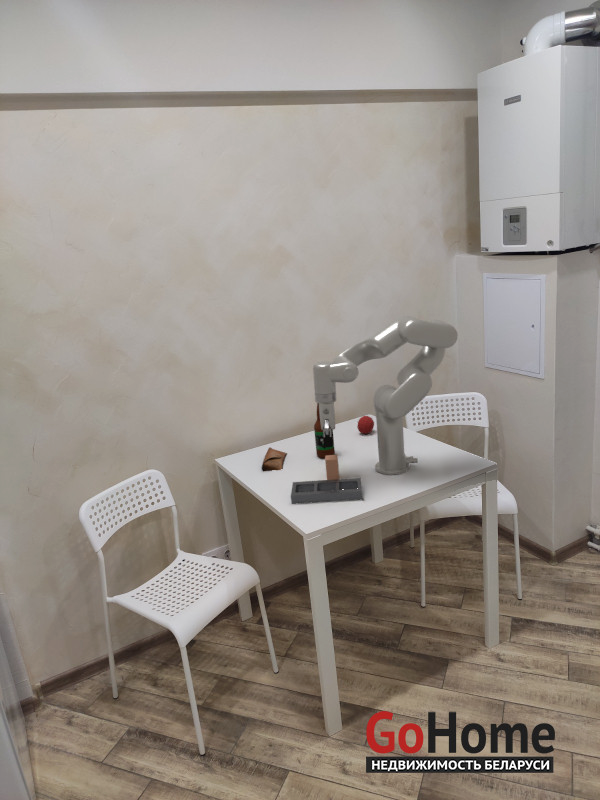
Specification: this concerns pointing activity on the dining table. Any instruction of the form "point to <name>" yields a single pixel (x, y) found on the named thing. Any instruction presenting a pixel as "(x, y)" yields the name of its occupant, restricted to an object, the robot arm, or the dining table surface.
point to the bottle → (321, 439)
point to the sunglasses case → (273, 460)
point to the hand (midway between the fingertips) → (328, 442)
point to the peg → (332, 467)
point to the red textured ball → (365, 424)
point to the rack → (326, 490)
